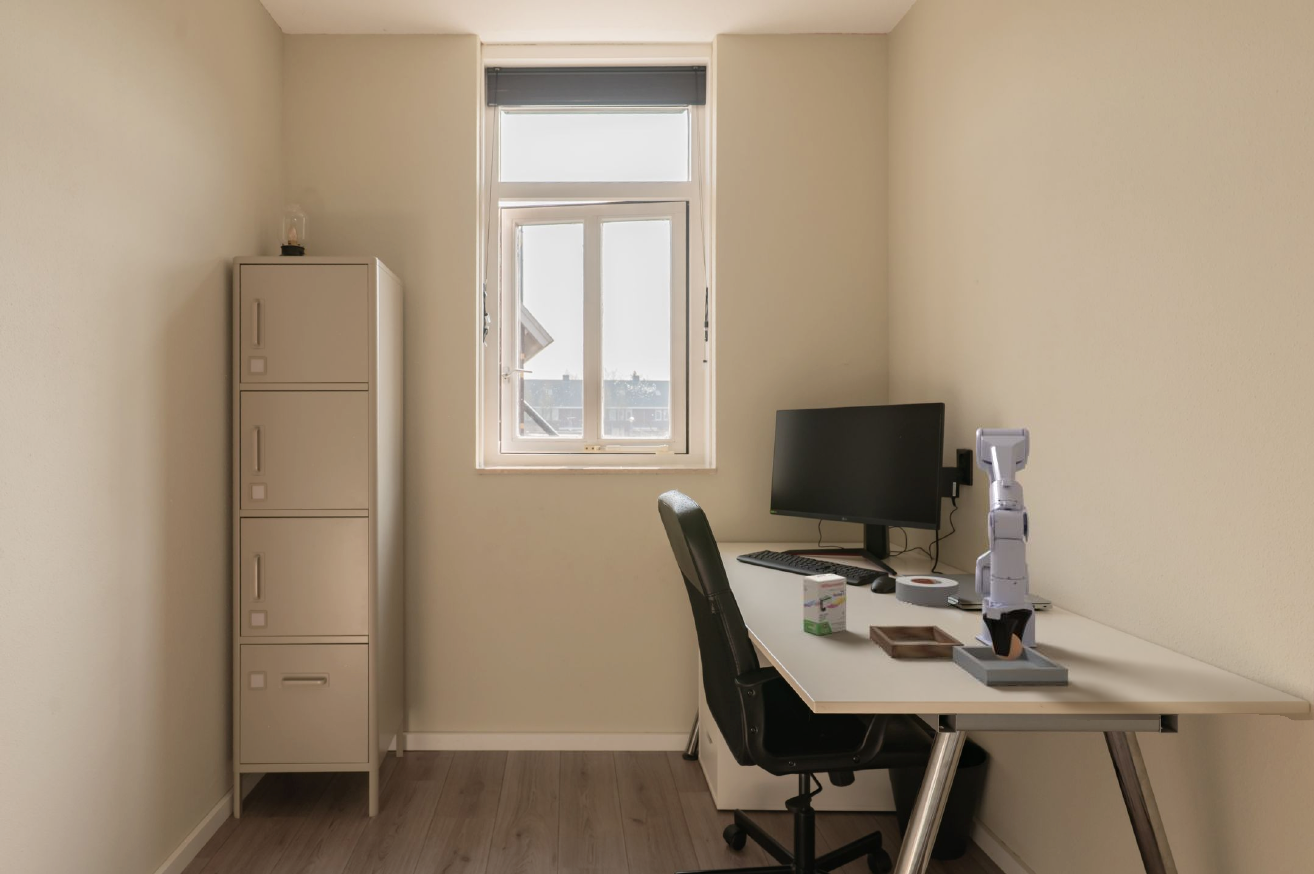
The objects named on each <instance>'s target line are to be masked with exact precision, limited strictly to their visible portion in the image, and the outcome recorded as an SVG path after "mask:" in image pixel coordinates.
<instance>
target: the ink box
mask: <svg viewBox="0 0 1314 874" xmlns="http://www.w3.org/2000/svg"><path fill="white" fill-rule="evenodd" d="M802 585H803V588H802V589H803V592H802V593H803V597H802V598H803V599H802V600H803V604H802V605H803V612H802V613H803V631H804V632H807V633H810V634H813V635H817V636H822V634H823V635H829V634H834V633H837V632H838V631H839V632H844V631H847V577H844V576H842V575H838V574H835V573H825V574H815V575H807V576H805V577H803V583H802ZM839 632H838V633H839Z"/></svg>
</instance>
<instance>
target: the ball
mask: <svg viewBox="0 0 1314 874" xmlns="http://www.w3.org/2000/svg"><path fill="white" fill-rule="evenodd" d="M992 649H993V652H994V653H995V651H994V647H993V643H992ZM1021 652H1022V644H1021V641H1020V639H1019V638H1018V637H1017V636H1016V635H1015V634H1013V635H1012V641H1011V648H1010V653H1009V656H1008V657H1005V656H1000V655H997V656H998V657H999V658H1001V659H1003V660H1014V659H1016V658H1017V657H1019V655H1020V654H1021Z"/></svg>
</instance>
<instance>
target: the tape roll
mask: <svg viewBox="0 0 1314 874" xmlns="http://www.w3.org/2000/svg"><path fill="white" fill-rule="evenodd" d="M959 591H960V590H959V582H958V581H956V580H953V579H951V578H950V579H949V578H944V577H939V576H927V575H926V576H925V575H912V576H901V577H897V578H896V579H895V599H896V598H897V599H898V600H897V599H896V600H897V601H899V600H900V601H899V602H901V601H903V602H902V603H904V602H907V603H906V604H908V603H913V604H912V605H914V604H917V605H916V606H921V605H928V606H927V607H949V606H948V605H949V602H948V597H950V596H951V595H955V594H957V593H958V592H959Z"/></svg>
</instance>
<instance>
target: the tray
mask: <svg viewBox="0 0 1314 874" xmlns="http://www.w3.org/2000/svg"><path fill="white" fill-rule="evenodd" d="M952 662H954V663H955V662H956V663H955V664H957V665H958V666H959V665H960V666H959V667H960V668H961V669H962V670H963V669H964V671H966V672H967V671H968V672H967V673H968V674H970V673H971V674H970V675H971V676H972V677H974V678H975V677H976V679H977V680H978V679H979V680H980V681H979V680H978V681H979V682H981V683H982V682H983V683H984V684H983V683H982V684H983V685H985V686H986V685H1021V686H1022V685H1061V686H1064V687H1065V686H1069V668H1067V667H1065V666H1064V665H1061V664H1060V663H1058V662H1057V661H1054V660H1053V659H1051V658H1049V657H1047V656H1046V655H1043V654H1042V653H1040V652H1038V651H1036V650H1035V649H1033V648H1032V647H1028V646H1022V652H1021V654H1020V655H1019V657H1017V658H1016V659H1014V660H1003V659H1001V658H999V657H998V656H997V655H996V654H995V653H994V652H993V649H992V646H988V645H964V646H953V658H952ZM1021 686H1020V687H1021Z"/></svg>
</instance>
